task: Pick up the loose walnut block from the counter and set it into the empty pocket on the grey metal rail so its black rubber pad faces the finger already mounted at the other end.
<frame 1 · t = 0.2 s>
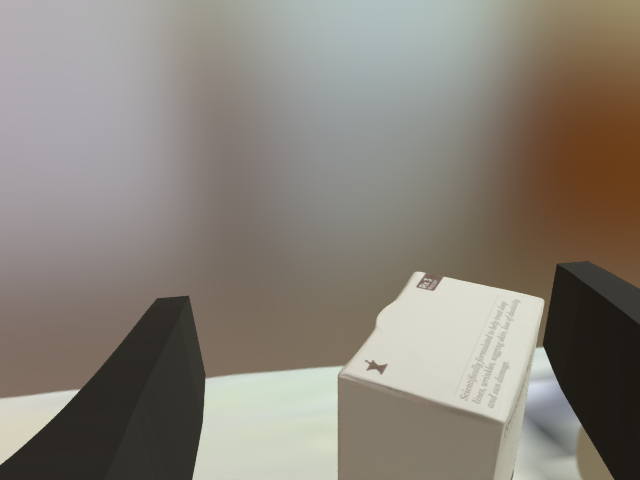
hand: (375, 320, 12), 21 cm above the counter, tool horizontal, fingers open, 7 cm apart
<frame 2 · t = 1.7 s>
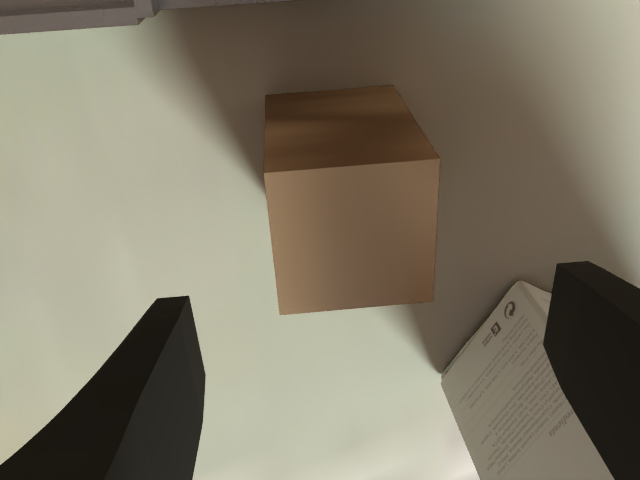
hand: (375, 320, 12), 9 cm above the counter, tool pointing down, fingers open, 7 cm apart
skincare box: (554, 353, 25), on the counter
walnut block: (332, 150, 20), on the counter
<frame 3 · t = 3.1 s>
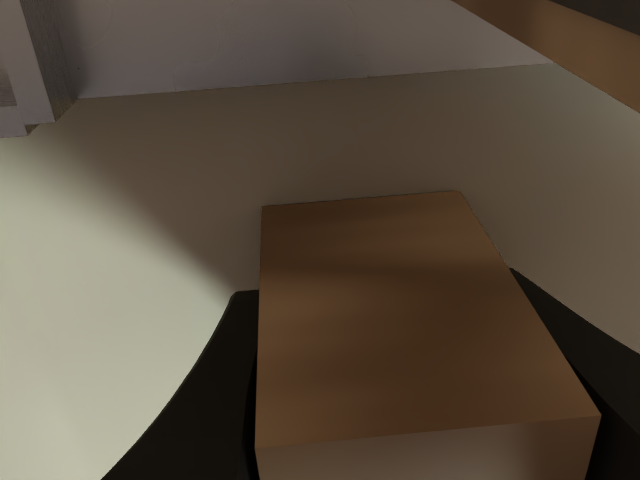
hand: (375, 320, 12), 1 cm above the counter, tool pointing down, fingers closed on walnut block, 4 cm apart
walnut block: (363, 280, 13), on the counter, touching gripper
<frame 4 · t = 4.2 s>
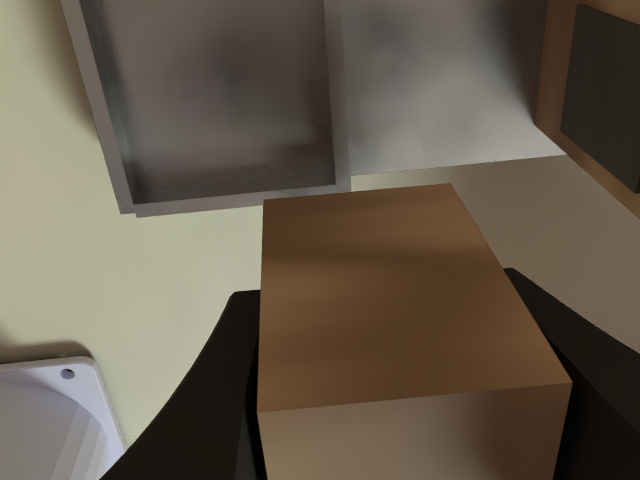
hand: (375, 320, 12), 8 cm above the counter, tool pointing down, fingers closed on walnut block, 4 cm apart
rail: (397, 48, 17), on the counter
walnut block: (359, 269, 14), point 6 cm above the counter, touching gripper
mounted finger: (616, 45, 16), resting on rail
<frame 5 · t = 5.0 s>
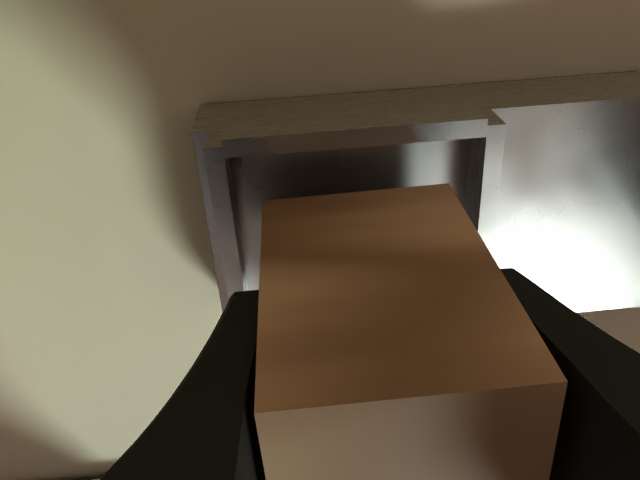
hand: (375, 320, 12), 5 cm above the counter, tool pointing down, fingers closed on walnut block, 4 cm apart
rail: (523, 186, 16), on the counter
walnut block: (359, 269, 14), point 3 cm above the counter, touching gripper
when the fingers open (5 cm above the counter, at t = 5.5 s): walnut block stays where it is, resting on rail.
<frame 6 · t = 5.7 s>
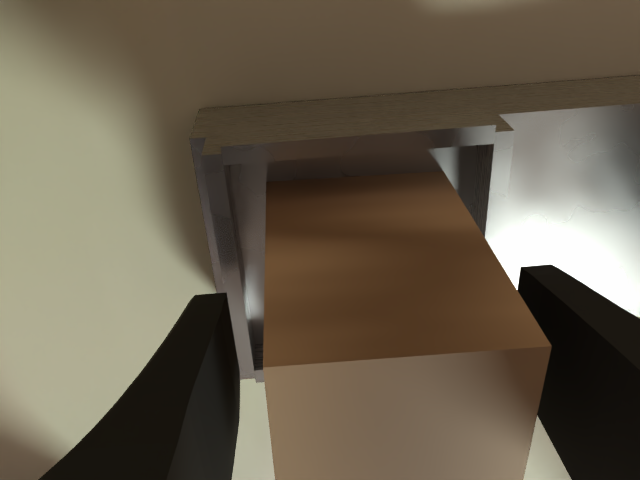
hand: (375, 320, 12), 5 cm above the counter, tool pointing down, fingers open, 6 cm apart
rail: (530, 192, 16), on the counter
walnut block: (355, 252, 14), point 2 cm above the counter, touching rail
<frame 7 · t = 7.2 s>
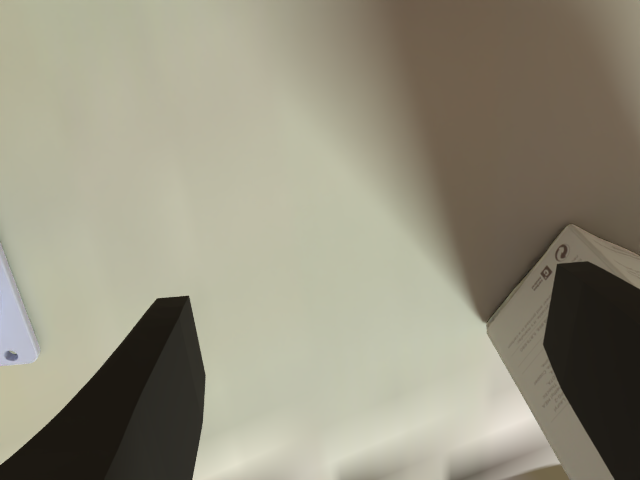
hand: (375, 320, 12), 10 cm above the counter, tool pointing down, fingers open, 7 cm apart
skincare box: (599, 303, 25), on the counter
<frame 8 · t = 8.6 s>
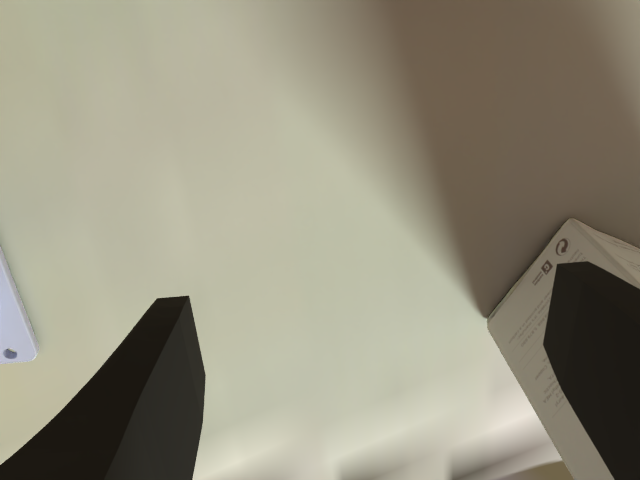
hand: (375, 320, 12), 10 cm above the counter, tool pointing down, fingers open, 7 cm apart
skincare box: (600, 297, 25), on the counter
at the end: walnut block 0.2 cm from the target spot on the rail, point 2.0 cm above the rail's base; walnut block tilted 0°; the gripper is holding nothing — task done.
